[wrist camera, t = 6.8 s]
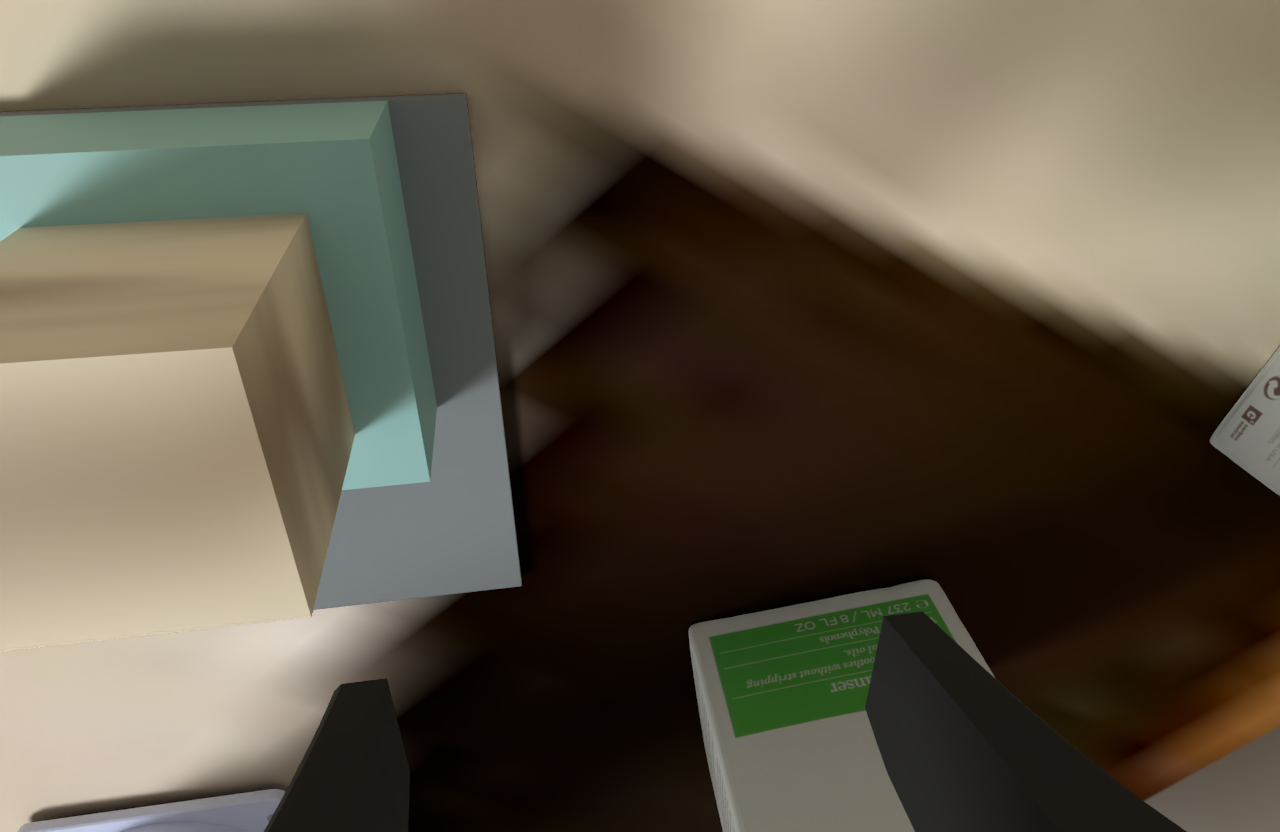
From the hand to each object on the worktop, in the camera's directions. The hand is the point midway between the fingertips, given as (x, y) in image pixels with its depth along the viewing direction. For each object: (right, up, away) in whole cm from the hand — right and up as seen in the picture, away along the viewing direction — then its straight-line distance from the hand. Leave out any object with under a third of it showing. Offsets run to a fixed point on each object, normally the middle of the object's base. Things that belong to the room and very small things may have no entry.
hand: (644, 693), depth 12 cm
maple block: (-8, +5, +3) cm, 10 cm away
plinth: (-8, +7, +5) cm, 12 cm away
